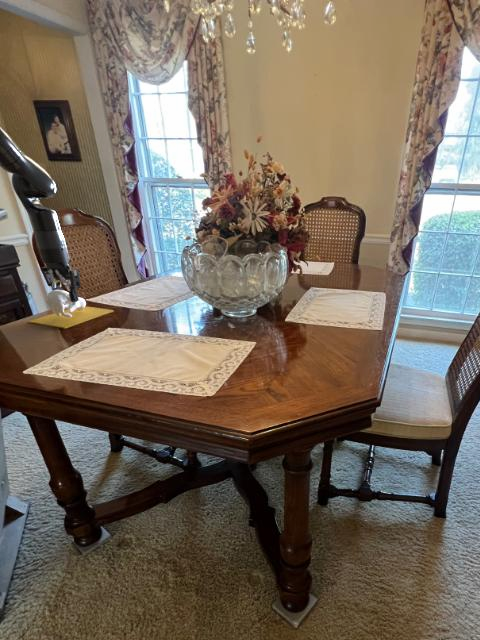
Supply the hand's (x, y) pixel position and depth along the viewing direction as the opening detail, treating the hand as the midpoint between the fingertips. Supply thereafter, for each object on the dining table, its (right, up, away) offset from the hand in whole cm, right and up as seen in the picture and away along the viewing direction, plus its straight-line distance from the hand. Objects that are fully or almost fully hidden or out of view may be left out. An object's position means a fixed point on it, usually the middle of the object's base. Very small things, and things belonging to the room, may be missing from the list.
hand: (68, 300), depth 125 cm
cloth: (0, -5, +3) cm, 5 cm away
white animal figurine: (0, -4, +2) cm, 5 cm away
